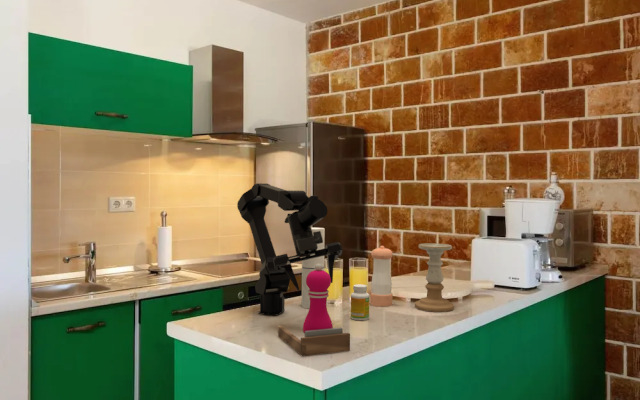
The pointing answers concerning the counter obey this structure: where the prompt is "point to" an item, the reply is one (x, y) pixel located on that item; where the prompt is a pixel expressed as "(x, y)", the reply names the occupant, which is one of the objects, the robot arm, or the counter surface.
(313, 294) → the pepper mill
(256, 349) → the counter surface
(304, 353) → the lane
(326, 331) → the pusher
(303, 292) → the cylindrical container
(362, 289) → the supplement bottle
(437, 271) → the candle holder
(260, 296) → the robot arm
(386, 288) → the salt shaker
